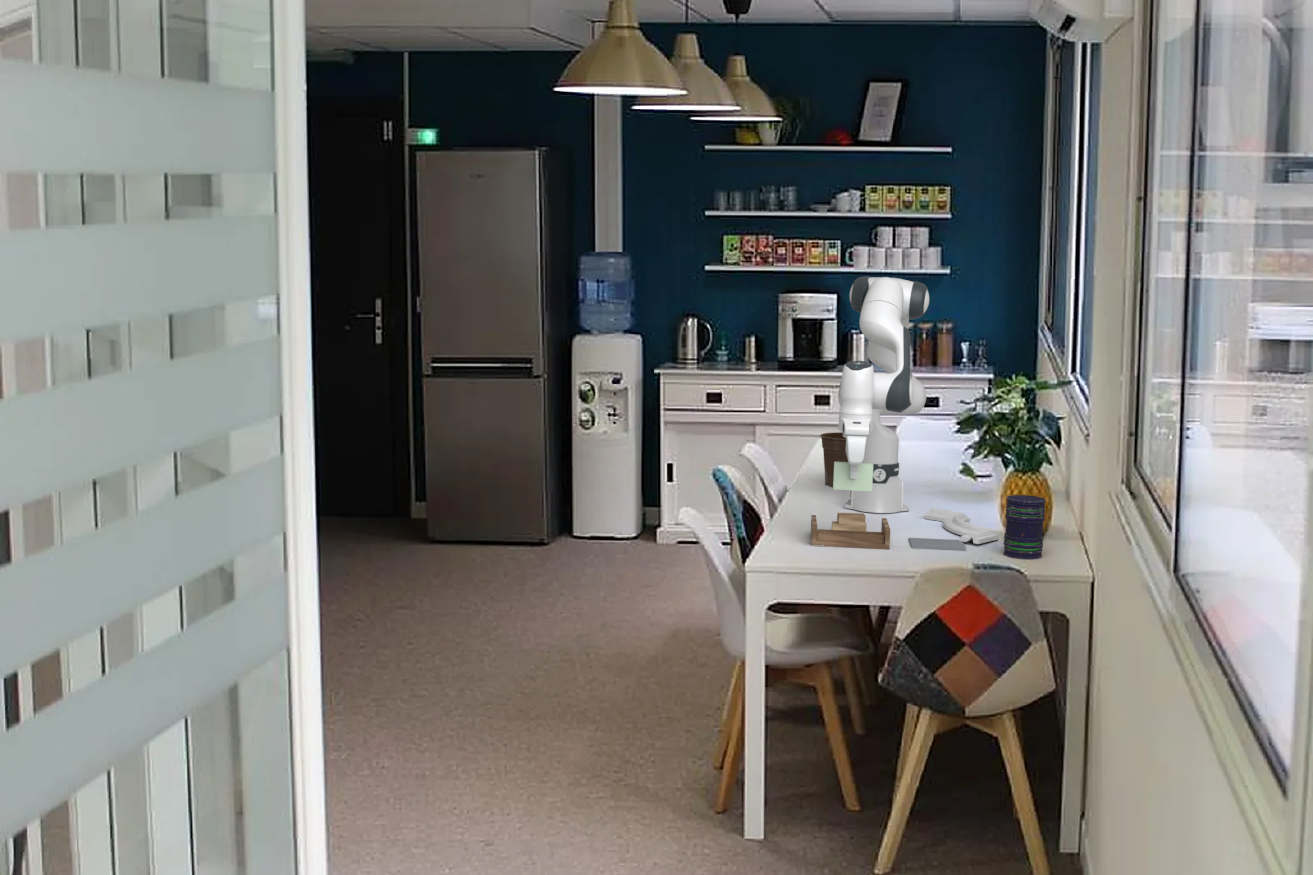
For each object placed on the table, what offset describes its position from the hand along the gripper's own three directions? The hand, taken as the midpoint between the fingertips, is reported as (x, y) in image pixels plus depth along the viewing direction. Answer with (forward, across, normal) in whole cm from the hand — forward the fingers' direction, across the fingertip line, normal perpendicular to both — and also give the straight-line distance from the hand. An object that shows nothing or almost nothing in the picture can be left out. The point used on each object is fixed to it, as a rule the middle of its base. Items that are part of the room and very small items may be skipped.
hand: (853, 477), depth 422 cm
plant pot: (+18, -96, +2) cm, 98 cm away
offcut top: (+14, -9, 0) cm, 17 cm away
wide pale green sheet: (+3, 0, 0) cm, 3 cm away
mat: (+18, -4, +23) cm, 29 cm away
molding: (+18, -26, +30) cm, 43 cm away
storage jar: (+18, +4, +44) cm, 48 cm away
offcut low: (+17, -9, 0) cm, 19 cm away
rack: (+18, -4, 0) cm, 18 cm away
